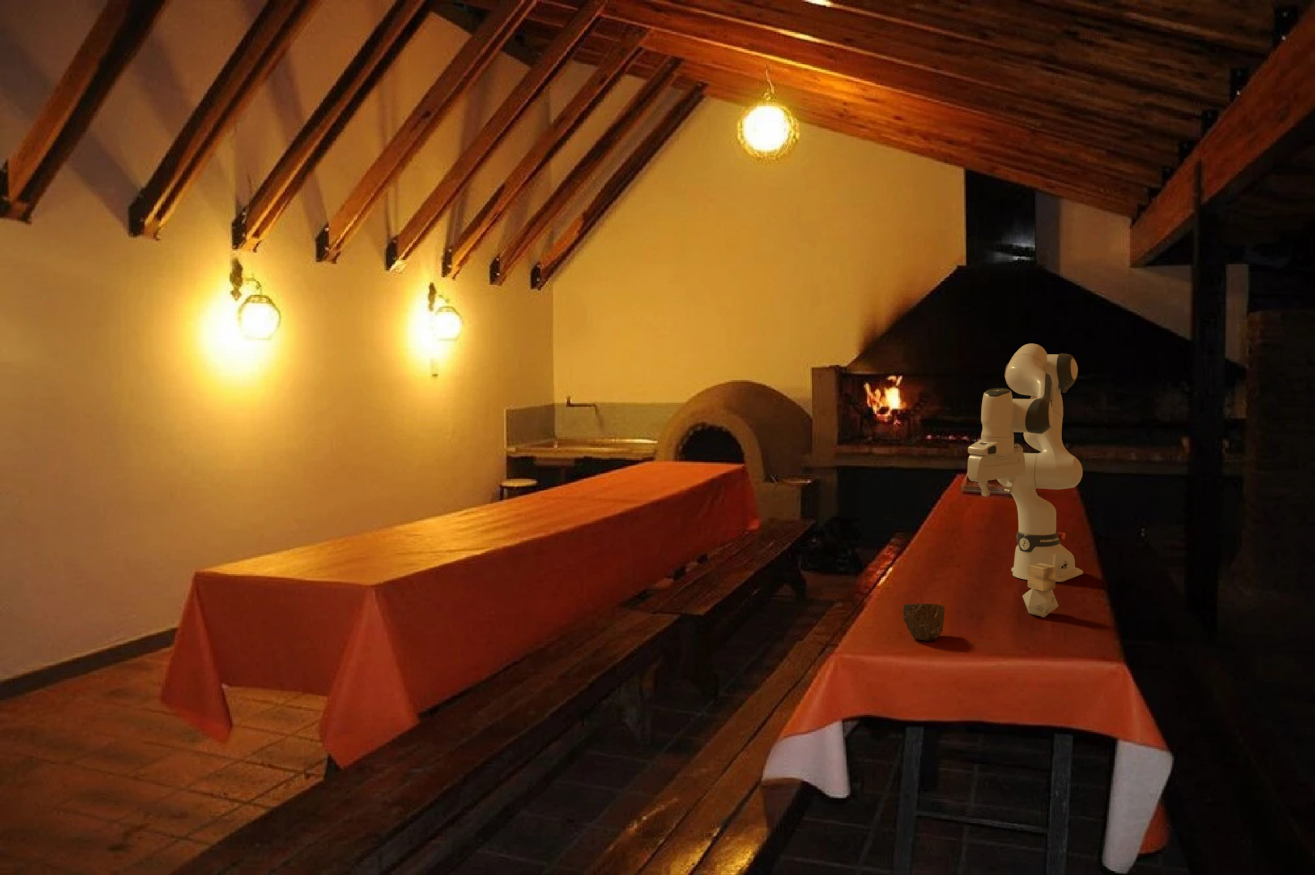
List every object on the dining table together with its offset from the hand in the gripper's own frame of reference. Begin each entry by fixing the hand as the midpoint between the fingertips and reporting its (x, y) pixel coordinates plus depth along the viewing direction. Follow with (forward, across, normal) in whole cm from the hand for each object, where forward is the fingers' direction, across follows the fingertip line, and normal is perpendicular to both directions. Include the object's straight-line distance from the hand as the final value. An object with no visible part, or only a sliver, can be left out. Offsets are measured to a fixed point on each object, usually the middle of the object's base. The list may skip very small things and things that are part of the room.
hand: (997, 494), depth 286 cm
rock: (+31, +42, +14) cm, 54 cm away
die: (+31, +2, +16) cm, 36 cm away
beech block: (+24, +2, +17) cm, 29 cm away
